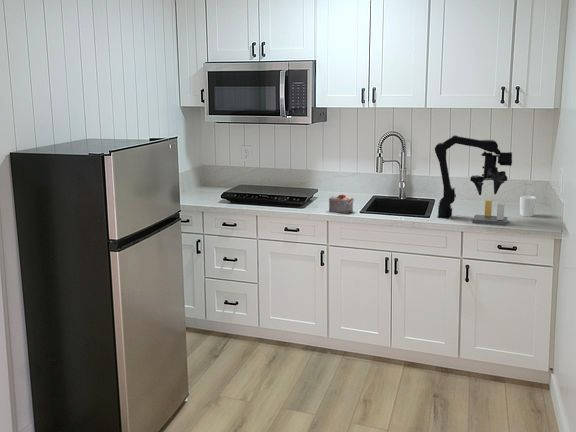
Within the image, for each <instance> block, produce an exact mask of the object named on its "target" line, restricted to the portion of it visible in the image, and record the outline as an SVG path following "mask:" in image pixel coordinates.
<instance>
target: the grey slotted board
mask: <svg viewBox="0 0 576 432" xmlns="http://www.w3.org/2000/svg"><path fill="white" fill-rule="evenodd" d="M508 219H509V218H508V216H504V219H503V220H497V215H491V217H488V216H485V214H475V215H474V216H473V217H472V221H471V224H480V225H489V226H490V225H494V226H504V227H505V226H506V225H507V223H508Z"/></svg>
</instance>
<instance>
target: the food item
mask: <svg viewBox="0 0 576 432" xmlns="http://www.w3.org/2000/svg"><path fill="white" fill-rule="evenodd" d="M354 200H355V199H354V198H353V197H347V196H346V194H345V195H344V194H340V195H338V196H335V195H333V196H330V197H329V199H328V202H329V205H328V207H329V209H328V210H329V211H338V212H350V213H352V212H353V211H354ZM351 211H352V212H351ZM338 212H337V213H338Z"/></svg>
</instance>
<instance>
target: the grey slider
mask: <svg viewBox="0 0 576 432" xmlns="http://www.w3.org/2000/svg"><path fill="white" fill-rule="evenodd" d="M496 208H497V209H496V216H497V220H503V219H504V217H505V202H498V203H497V207H496Z"/></svg>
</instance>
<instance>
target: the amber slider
mask: <svg viewBox="0 0 576 432" xmlns="http://www.w3.org/2000/svg"><path fill="white" fill-rule="evenodd" d="M484 202H485V203H484V215H485V216H488V217H491V216H492V211H493V209H492V208H493V200H492V199H485V201H484Z"/></svg>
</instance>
